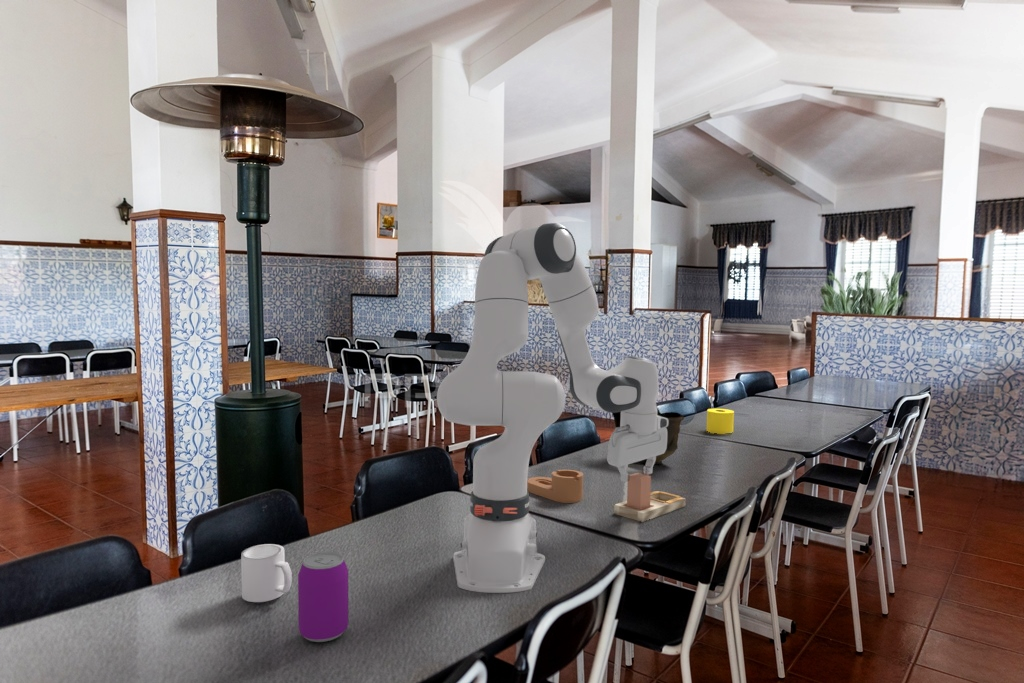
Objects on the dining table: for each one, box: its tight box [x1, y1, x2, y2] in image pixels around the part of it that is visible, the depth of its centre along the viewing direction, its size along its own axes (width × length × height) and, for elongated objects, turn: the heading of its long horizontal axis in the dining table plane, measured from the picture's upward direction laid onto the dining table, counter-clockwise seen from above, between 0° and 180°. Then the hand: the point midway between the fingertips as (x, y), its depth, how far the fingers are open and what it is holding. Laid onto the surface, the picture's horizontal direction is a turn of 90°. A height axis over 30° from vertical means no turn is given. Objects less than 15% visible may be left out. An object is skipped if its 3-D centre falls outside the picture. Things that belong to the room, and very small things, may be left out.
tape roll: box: [706, 408, 735, 435], centre depth 264 cm, size 10×10×9 cm
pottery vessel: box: [611, 407, 685, 466], centre depth 217 cm, size 25×11×20 cm, turn 47°
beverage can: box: [297, 550, 350, 643], centre depth 108 cm, size 8×8×12 cm
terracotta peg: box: [626, 472, 652, 511], centre depth 166 cm, size 4×4×10 cm
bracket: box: [527, 469, 584, 504], centre depth 183 cm, size 18×8×7 cm, turn 41°
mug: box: [240, 543, 293, 603], centre depth 121 cm, size 10×7×8 cm
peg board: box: [613, 490, 686, 523], centre depth 170 cm, size 18×8×3 cm, turn 132°
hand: (636, 477), depth 167 cm, fingers open, 8 cm apart
